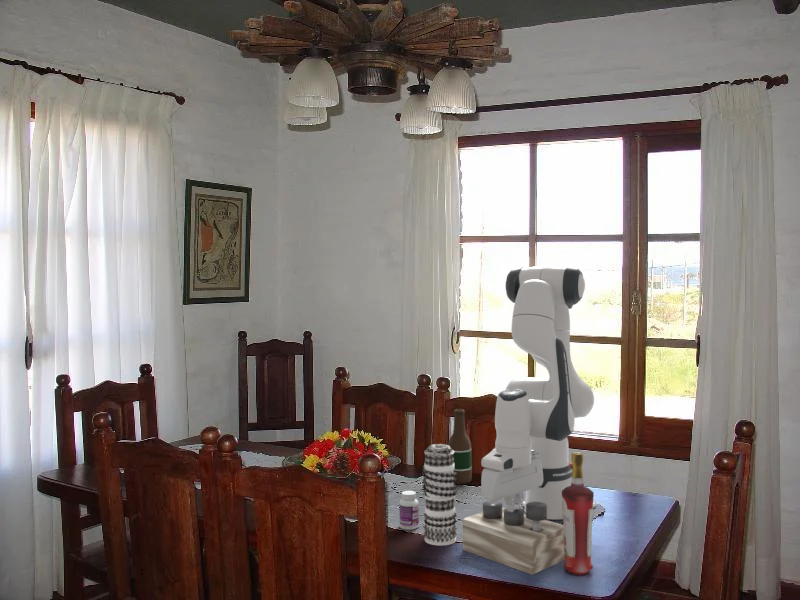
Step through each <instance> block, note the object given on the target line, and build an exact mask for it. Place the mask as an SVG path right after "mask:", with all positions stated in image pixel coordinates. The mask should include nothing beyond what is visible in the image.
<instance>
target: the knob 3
mask: <svg viewBox="0 0 800 600" xmlns="http://www.w3.org/2000/svg"><path fill="white" fill-rule="evenodd" d="M525 514H526V518H527V519H529V520H532V526H533V531H534V532H540V531H541V521H542V520H548V519H547V505H546V504H545V503H542V502H529V503H527V504H526V513H525Z"/></svg>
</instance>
